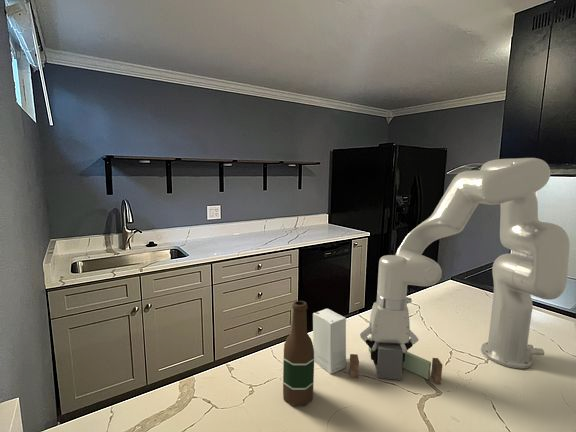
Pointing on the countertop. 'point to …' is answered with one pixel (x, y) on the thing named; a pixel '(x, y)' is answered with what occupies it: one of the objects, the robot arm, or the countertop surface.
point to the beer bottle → (298, 360)
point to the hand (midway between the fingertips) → (387, 362)
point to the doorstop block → (389, 361)
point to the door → (415, 364)
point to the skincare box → (329, 340)
